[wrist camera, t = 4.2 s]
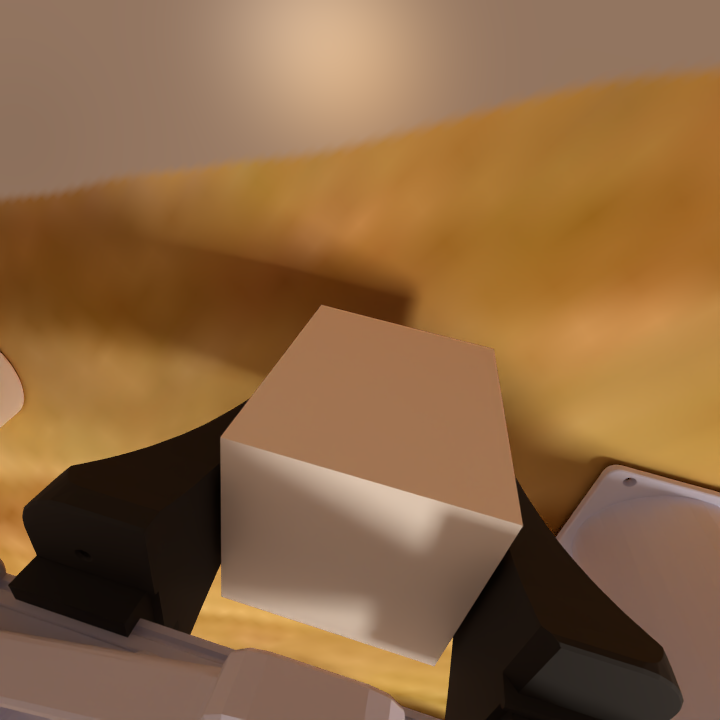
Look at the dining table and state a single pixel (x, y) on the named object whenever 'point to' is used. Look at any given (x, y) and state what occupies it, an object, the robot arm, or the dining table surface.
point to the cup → (9, 391)
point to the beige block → (369, 484)
